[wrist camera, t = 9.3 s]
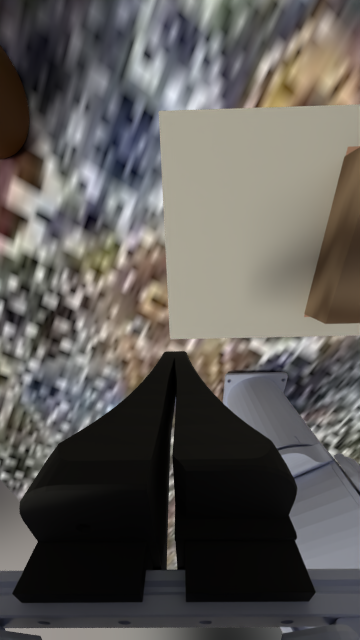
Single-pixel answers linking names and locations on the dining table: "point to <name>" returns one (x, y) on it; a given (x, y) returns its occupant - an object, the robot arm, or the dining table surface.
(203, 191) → the mat
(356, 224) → the t block
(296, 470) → the robot arm
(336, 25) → the dining table surface
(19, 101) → the mug
